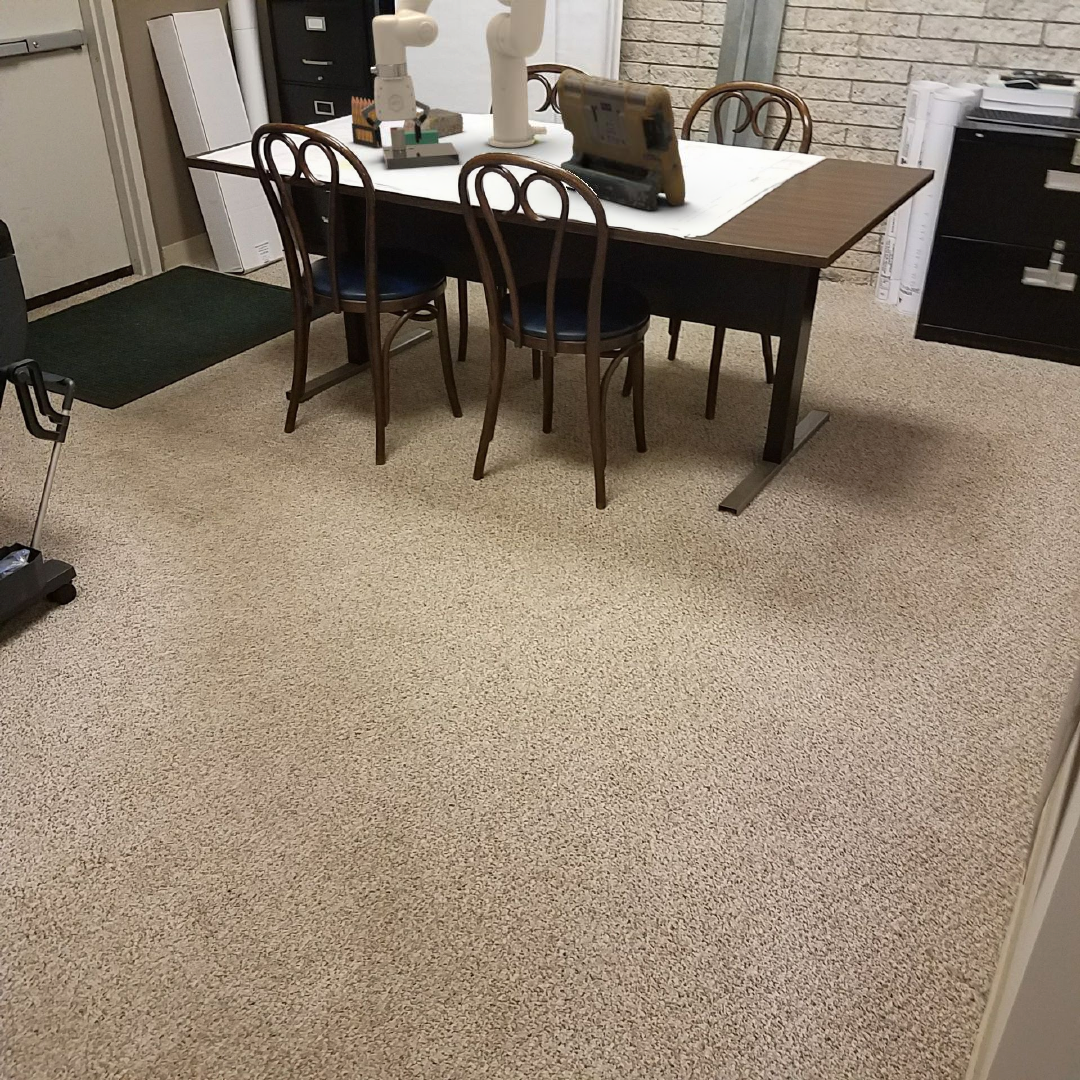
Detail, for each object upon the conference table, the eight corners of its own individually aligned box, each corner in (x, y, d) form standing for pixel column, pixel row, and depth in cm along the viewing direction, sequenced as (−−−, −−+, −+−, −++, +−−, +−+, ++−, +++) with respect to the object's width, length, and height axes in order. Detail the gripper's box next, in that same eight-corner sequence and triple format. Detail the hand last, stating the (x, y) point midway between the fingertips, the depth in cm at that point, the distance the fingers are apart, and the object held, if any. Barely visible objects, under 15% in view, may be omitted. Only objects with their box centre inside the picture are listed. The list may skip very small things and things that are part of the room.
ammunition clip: (382, 147, 286) (377, 99, 279) (377, 148, 285) (372, 100, 278) (358, 141, 292) (353, 95, 286) (353, 142, 291) (347, 96, 285)
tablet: (696, 200, 233) (703, 78, 219) (655, 214, 225) (659, 87, 211) (588, 177, 253) (588, 63, 239) (547, 188, 245) (544, 71, 231)
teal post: (439, 147, 284) (438, 132, 282) (393, 150, 282) (392, 135, 280) (437, 144, 287) (436, 129, 285) (392, 147, 285) (391, 132, 283)
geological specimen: (465, 112, 298) (426, 118, 288) (465, 135, 301) (426, 141, 291) (438, 107, 304) (399, 112, 294) (438, 129, 307) (400, 135, 297)
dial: (405, 147, 273) (403, 125, 271) (406, 150, 270) (404, 128, 268) (391, 147, 273) (389, 126, 270) (392, 151, 270) (390, 129, 267)
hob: (451, 152, 279) (451, 141, 277) (459, 164, 267) (458, 153, 266) (383, 157, 276) (382, 146, 274) (387, 169, 264) (386, 158, 263)
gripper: (357, 75, 257) (365, 148, 266) (428, 71, 260) (434, 144, 269) (355, 70, 263) (363, 142, 273) (425, 66, 266) (430, 138, 275)
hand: (398, 143), depth 271 cm, fingers open, 9 cm apart
